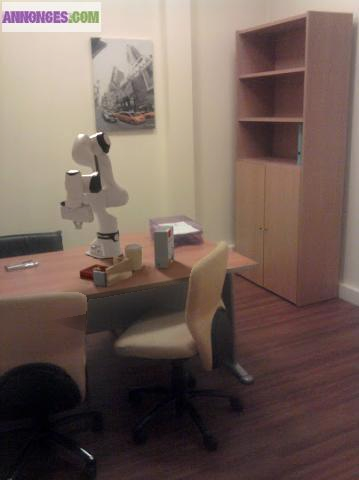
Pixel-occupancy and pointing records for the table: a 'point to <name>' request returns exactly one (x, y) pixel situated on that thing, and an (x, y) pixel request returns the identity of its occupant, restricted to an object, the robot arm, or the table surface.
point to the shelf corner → (118, 270)
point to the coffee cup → (134, 255)
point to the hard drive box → (164, 246)
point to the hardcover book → (88, 271)
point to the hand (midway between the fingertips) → (78, 229)
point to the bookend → (100, 278)
